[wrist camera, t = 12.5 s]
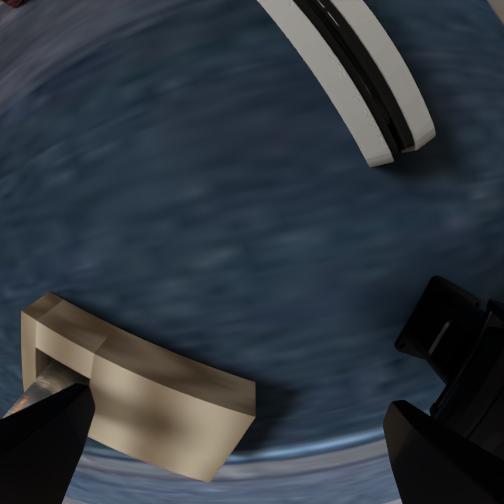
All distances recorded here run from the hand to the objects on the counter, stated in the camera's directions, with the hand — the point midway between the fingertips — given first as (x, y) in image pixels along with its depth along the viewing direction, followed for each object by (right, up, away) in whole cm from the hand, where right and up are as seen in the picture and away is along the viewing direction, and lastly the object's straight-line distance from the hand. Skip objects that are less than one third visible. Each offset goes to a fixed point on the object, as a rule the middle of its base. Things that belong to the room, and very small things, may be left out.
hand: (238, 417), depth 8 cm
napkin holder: (+5, +18, +9) cm, 20 cm away
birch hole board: (-10, -6, +15) cm, 19 cm away
